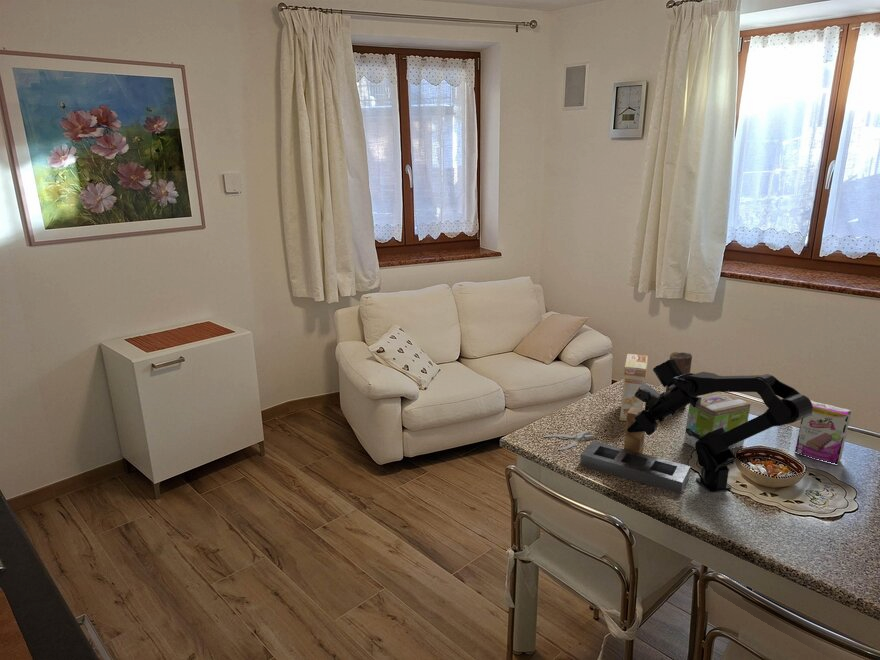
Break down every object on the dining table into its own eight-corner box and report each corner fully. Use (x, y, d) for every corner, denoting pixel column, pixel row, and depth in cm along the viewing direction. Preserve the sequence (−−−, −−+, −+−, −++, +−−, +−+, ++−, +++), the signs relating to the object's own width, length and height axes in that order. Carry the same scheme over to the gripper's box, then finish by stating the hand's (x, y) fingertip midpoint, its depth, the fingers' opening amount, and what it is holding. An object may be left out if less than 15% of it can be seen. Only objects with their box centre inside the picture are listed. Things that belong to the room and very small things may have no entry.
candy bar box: (794, 454, 176) (803, 404, 172) (798, 448, 180) (807, 398, 175) (837, 467, 169) (848, 414, 164) (841, 460, 173) (852, 409, 168)
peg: (642, 453, 178) (647, 410, 174) (638, 459, 174) (642, 416, 170) (627, 449, 180) (631, 407, 176) (623, 455, 176) (627, 412, 173)
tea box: (708, 456, 175) (715, 411, 171) (683, 442, 184) (688, 398, 180) (744, 446, 181) (751, 402, 177) (717, 433, 190) (723, 390, 186)
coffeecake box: (641, 423, 197) (646, 369, 192) (619, 420, 200) (623, 366, 194) (643, 406, 210) (648, 355, 205) (622, 403, 213) (627, 352, 207)
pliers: (542, 433, 188) (582, 426, 192) (541, 438, 188) (582, 431, 193) (558, 447, 179) (600, 439, 183) (557, 452, 179) (599, 444, 184)
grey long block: (689, 477, 164) (690, 466, 163) (680, 494, 156) (682, 482, 155) (591, 451, 179) (592, 440, 178) (579, 465, 171) (580, 454, 170)
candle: (683, 412, 205) (689, 358, 199) (661, 408, 209) (667, 354, 203) (687, 405, 211) (694, 352, 206) (666, 400, 215) (672, 349, 209)
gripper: (662, 368, 175) (622, 395, 184) (645, 388, 160) (603, 416, 169) (687, 398, 173) (646, 424, 182) (672, 421, 158) (628, 448, 167)
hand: (630, 427), depth 175 cm, fingers open, 6 cm apart
